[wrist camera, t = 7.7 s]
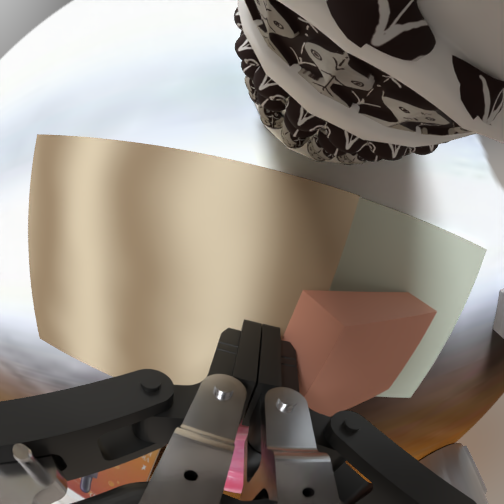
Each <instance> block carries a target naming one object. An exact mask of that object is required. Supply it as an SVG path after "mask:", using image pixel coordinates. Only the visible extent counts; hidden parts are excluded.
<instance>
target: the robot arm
mask: <svg viewBox="0 0 504 504" xmlns="http://www.w3.org/2000/svg"><path fill="white" fill-rule="evenodd" d="M242 418H243V419H242ZM241 420H242V425H244V426H249V431H248V435H247V438H246V440H245V443H244V473H243V489H242V492H241V496H240V500H238V499H235V498H233V497H230V496H227V495H225V494H222V493H223V490H224V486H225V482H226V479H227V475H228V471H229V468H230V464H231V460H232V456H233V453H234V448H235V444H234V442H235V438H236V434H237V430H238V427H239V425H240V423H241ZM167 444H168V445H167ZM165 445H167V447H166V449H165V451H164V453H163V455H162V457H161V459H160V461H159V463H158V465H157V467H156V469H155V471H154V473H153V475H152V477H151V479H150V481H146V482H135V483H129V484H125V485H121V486H119V487H116V488H114V489H111V490H109V491H106V492H103V493H101V494H98V495H95V496H92V497H89V498H86V499H83V500H80V501H77V502H74V503H71V504H488V501H487V499H486V496H485V494H486V492H487V489H486V487H485V484H484V482H483V480H482V478H481V475H480V473H479V471H478V469H477V467H476V465H475V462H474V461H473V459H472V456H471V454H470V452H469V450H468V448H467V446H463V445H462V444H461V443H455V444H451V445H448V446H446V447H444V448H441V449H439V450H437V451H435V452H434V453H432V454H430V455H428V456H427V457H425V458H423V459H422V460H420V461H418V460H416V459H415V458H414V457H412V456H411V455H410V454H408V453H407V452H406V451H404V450H403V449H402V448H401V447H399V446H398V445H397V444H396V443H394V442H393V441H392V440H391V439H389V438H388V437H387V436H386V435H384V434H383V433H382V432H381V431H379V430H378V429H377V428H376V427H374V426H373V425H372V424H371V423H370V422H368V421H367V420H366V419H365V418H364V417H362V416H361V415H359V414H358V413H355V412H352V411H339V412H337V413H335V414H334V415H333V416H332V417H329V416H326V415H323V414H320V413H318V412H315V411H313V410H312V409H310V408H309V407H308V404H307V401H306V399H305V398H304V396H302V395H301V394H300V392H299V381H298V370H297V361H296V350H295V349H294V347H293V346H292V344H291V343H290V342H288V341H283V340H281V334H280V327H275V326H271V325H267V324H262V326H261V323H258V322H254V321H250V320H246V319H244V321H243V325H242V328H241V331H240V330H236V329H232V328H227V329H226V330H225V331H223V332H222V333H221V335H220V338H219V342H218V345H217V348H216V351H215V354H214V357H213V360H212V363H211V366H210V369H209V373H208V375H207V377H206V378H205V379H204V380H203V381H201V382H200V383H197V384H194V385H174V384H173V382H172V380H171V379H170V378H169V377H168V376H167V375H166V374H164V373H162V372H160V371H158V370H154V369H141V370H137V371H134V372H130V373H127V374H123V375H120V376H116V377H113V378H109V379H105V380H102V381H98V382H94V383H90V384H86V385H82V386H78V387H74V388H70V389H65V390H61V391H56V392H51V393H47V394H42V395H37V396H31V397H26V398H20V399H14V400H8V401H1V402H0V504H52V503H54V502H56V501H58V500H60V499H62V498H63V497H64V496H65V495H66V493H67V488H68V485H67V481H70V480H74V479H77V478H81V477H84V476H88V475H91V474H94V473H97V472H100V471H104V470H106V469H109V468H112V467H115V466H118V465H121V464H123V463H126V462H129V461H131V460H134V459H136V458H139V457H141V456H144V455H146V454H148V453H151V452H153V451H155V450H158V449H160V448H162V447H164V446H165ZM346 460H347V461H348V462H349V463H350V464H351V465H352V466H354V467H355V468H356V469H357V470H358V471H359V472H360V473H362V474H363V475H364V476H365V477H366V478H367V479H369V480H370V481H371V482H372V483H369V482H367V481H366V480H364V479H363V478H362V477H361V476H360V475H359V474H357V473H356V472H355V471H354V470H353V469H352V468H351V467H349V466H348V465H347V464H346V463H345V461H346Z"/></svg>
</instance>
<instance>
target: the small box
mask: <svg viewBox="0 0 504 504" xmlns="http://www.w3.org/2000/svg"><path fill="white" fill-rule="evenodd" d="M160 449H161V448H160ZM160 449H158V450H155V451H153V452H151V453H148V454H146V455H144V456H141V457H139V458H136V459H134V460H131V461H129V462H126V463H123V464H121V465H118V466H115V467H112V468H109V469H106V470H104V471H100V472H97V473H94V474H91V475H88V476H84V477H81V478H77V479H74V480H70V481H67V485H68V488H67V493H66V494H67V495H68V496H70V497H71V498H73V499H75V500H76V501H80V500H83V499H86V498H89V497H92V496H95V495H98V494H101V493H103V492H106V491H109V490H111V489H114V488H116V487H119V486H121V485H125V484H129V483H135V482H146V481H148V479H149V476H150V474H151V471H152V469H153V466H154V464H155V461H156V459H157V456H158V454H159V451H160Z"/></svg>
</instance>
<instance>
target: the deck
mask: <svg viewBox="0 0 504 504" xmlns="http://www.w3.org/2000/svg"><path fill="white" fill-rule="evenodd" d="M359 197H360V196H359V195H356V194H353V193H350V192H347V191H344V190H341V189H338V188H335V187H332V186H329V185H325V184H322V183H319V182H315V181H312V180H309V179H305V178H302V177H298V176H295V175H291V174H287V173H284V172H280V171H276V170H272V169H268V168H265V167H261V166H256V165H252V164H248V163H244V162H240V161H235V160H231V159H226V158H221V157H217V156H212V155H207V154H202V153H197V152H191V151H186V150H180V149H175V148H169V147H162V146H156V145H149V144H142V143H135V142H127V141H119V140H110V139H101V138H90V137H78V136H62V135H39V134H37V139H36V145H35V151H34V158H33V165H32V173H31V183H30V195H29V215H28V245H29V265H30V278H31V287H32V296H33V303H34V310H35V316H36V321H37V327H38V332H39V337H40V339H42V340H44V341H45V342H47V343H49V344H50V345H52V346H54V347H56V348H57V349H59V350H61V351H63V352H64V353H66V354H68V355H70V356H72V357H74V358H76V359H77V360H79V361H81V362H83V363H85V364H87V365H89V366H91V367H93V368H96V369H98V370H100V371H102V372H104V373H106V374H108V375H111V376H113V377H116V376H120V375H123V374H127V373H130V372H134V371H137V370H141V369H154V370H158V371H160V372H162V373H164V374H166V375H167V376H168V377H169V378H170V379H171V380H172V382H173V384H174V385H194V384H197V383H200V382H201V381H203V380H204V379H205V378H206V377H207V375H208V373H209V369H210V366H211V363H212V360H213V357H214V354H215V351H216V348H217V345H218V342H219V338H220V335H221V333H222V332H223V331H225V330H226V329H227V328H232V329H236V330H240V331H241V328H242V325H243V321H244V319H246V320H250V321H254V322H258V323H261V326H262V324H267V325H271V326H275V327H280V334H281V340H282V337H283V335H284V333H285V331H286V328H287V326H288V324H289V321H290V319H291V317H292V315H293V312H294V310H295V307H296V305H297V303H298V300H299V298H300V296H301V293H302V291H303V290H319V291H329V289H330V286H331V284H332V281H333V278H334V275H335V273H336V270H337V267H338V264H339V261H340V258H341V255H342V252H343V249H344V246H345V243H346V240H347V237H348V234H349V231H350V228H351V224H352V221H353V218H354V215H355V211H356V208H357V204H358V201H359Z"/></svg>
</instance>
